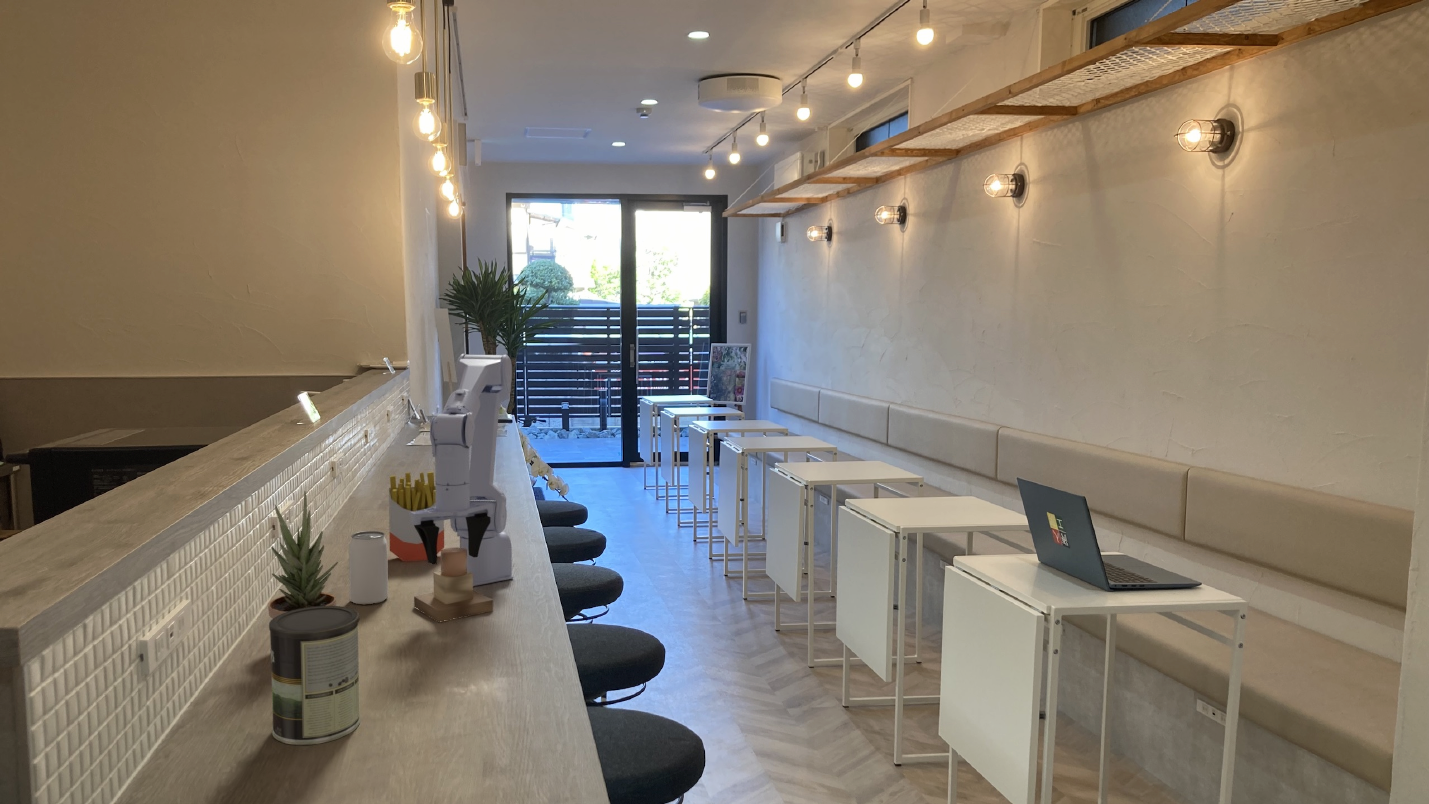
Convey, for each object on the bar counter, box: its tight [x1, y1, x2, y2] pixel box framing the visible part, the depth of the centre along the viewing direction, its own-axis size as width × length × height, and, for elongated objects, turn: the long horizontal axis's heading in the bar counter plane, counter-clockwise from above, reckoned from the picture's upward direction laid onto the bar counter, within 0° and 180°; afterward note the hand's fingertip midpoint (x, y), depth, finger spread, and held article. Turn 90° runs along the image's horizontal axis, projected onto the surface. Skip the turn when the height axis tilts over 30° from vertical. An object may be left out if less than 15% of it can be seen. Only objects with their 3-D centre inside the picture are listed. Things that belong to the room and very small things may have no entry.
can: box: [348, 530, 389, 605], centre depth 169 cm, size 6×6×12 cm
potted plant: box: [267, 490, 339, 620], centre depth 145 cm, size 10×10×25 cm
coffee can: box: [268, 605, 361, 746], centre depth 118 cm, size 10×10×14 cm
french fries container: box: [388, 470, 445, 562], centre depth 198 cm, size 5×11×18 cm, turn 108°
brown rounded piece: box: [440, 547, 467, 577], centre depth 165 cm, size 4×4×4 cm
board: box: [413, 589, 494, 623], centre depth 165 cm, size 10×10×2 cm
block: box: [433, 570, 474, 604], centre depth 165 cm, size 5×5×4 cm
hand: (453, 559), depth 165 cm, fingers open, 7 cm apart
